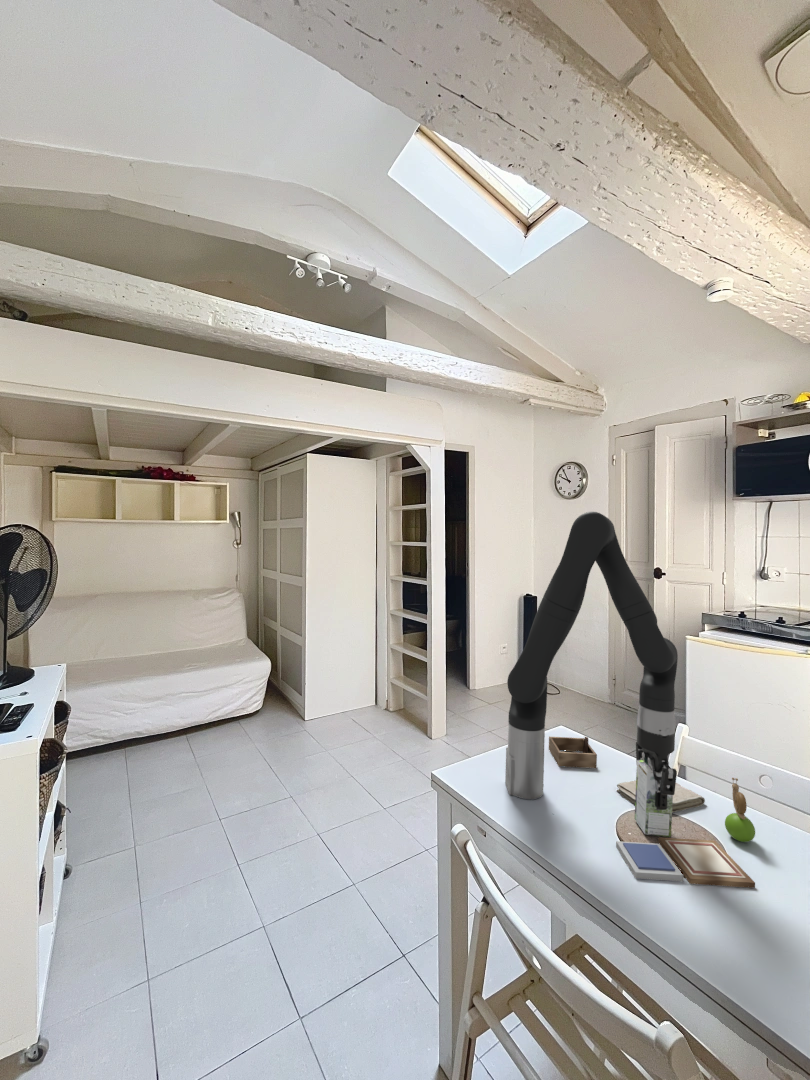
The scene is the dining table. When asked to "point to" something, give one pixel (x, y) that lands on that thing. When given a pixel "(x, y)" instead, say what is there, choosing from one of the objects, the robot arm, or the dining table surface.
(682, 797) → the washcloth
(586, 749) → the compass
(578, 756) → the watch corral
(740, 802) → the snail figurine
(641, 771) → the syrup box
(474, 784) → the dining table surface
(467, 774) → the dining table surface
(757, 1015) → the dining table surface
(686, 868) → the board
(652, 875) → the ink pad
